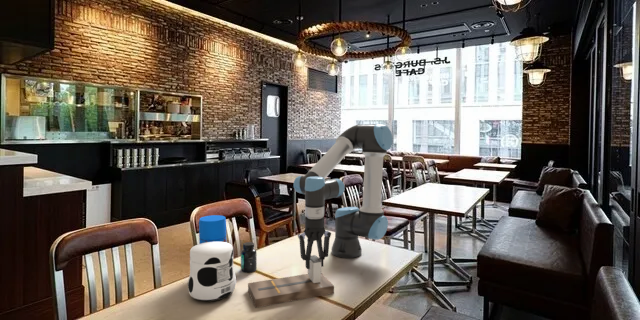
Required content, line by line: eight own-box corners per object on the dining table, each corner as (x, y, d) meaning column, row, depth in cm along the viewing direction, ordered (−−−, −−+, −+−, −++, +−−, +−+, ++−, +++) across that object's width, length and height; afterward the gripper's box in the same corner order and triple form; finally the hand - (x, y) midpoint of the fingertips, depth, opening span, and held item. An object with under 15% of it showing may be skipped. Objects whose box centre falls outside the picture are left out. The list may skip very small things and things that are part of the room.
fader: (315, 275, 143) (315, 255, 142) (321, 282, 137) (321, 260, 136) (307, 277, 142) (308, 256, 141) (313, 283, 136) (313, 261, 135)
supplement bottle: (241, 274, 153) (240, 246, 152) (240, 268, 159) (240, 241, 158) (257, 272, 154) (257, 245, 153) (255, 266, 161) (255, 240, 160)
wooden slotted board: (320, 278, 148) (320, 271, 148) (333, 293, 135) (334, 285, 135) (248, 290, 137) (248, 282, 137) (255, 307, 124) (255, 299, 124)
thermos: (219, 282, 144) (218, 222, 142) (195, 280, 146) (193, 220, 144) (231, 272, 155) (230, 215, 152) (208, 270, 157) (207, 214, 155)
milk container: (198, 283, 143) (197, 240, 141) (241, 284, 142) (240, 240, 141) (180, 305, 125) (178, 255, 124) (228, 306, 125) (227, 256, 123)
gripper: (297, 221, 131) (297, 282, 133) (337, 217, 137) (337, 276, 139) (291, 216, 138) (291, 275, 140) (330, 212, 144) (329, 269, 146)
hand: (314, 275), depth 139 cm, fingers closed on fader, 3 cm apart
